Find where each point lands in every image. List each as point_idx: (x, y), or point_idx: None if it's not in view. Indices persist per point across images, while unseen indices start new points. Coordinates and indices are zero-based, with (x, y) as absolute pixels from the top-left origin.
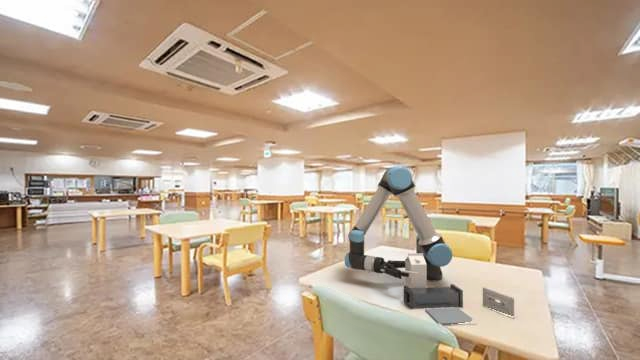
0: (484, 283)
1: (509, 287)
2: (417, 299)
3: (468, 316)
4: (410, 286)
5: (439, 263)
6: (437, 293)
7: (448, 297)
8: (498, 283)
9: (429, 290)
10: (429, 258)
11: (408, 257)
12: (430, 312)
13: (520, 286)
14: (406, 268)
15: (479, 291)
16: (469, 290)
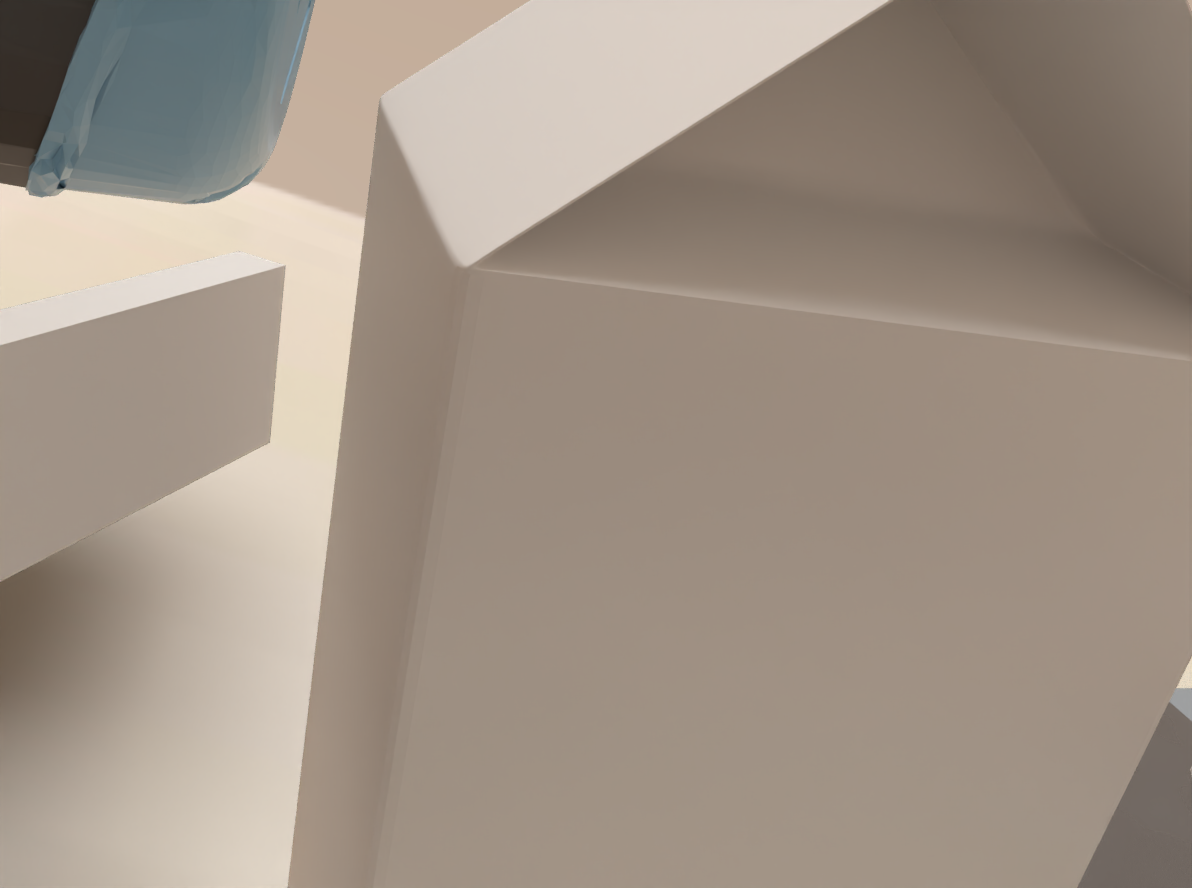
0: (94, 279)
1: (237, 244)
2: None
3: (1183, 697)
4: None
5: (280, 120)
6: (1179, 719)
7: None
8: (125, 238)
9: (1136, 788)
10: (231, 16)
11: (856, 4)
12: None
13: (226, 213)
14: (597, 726)
15: (319, 377)
16: (282, 414)
